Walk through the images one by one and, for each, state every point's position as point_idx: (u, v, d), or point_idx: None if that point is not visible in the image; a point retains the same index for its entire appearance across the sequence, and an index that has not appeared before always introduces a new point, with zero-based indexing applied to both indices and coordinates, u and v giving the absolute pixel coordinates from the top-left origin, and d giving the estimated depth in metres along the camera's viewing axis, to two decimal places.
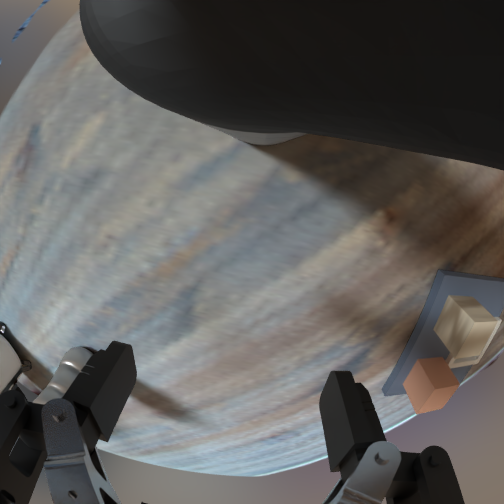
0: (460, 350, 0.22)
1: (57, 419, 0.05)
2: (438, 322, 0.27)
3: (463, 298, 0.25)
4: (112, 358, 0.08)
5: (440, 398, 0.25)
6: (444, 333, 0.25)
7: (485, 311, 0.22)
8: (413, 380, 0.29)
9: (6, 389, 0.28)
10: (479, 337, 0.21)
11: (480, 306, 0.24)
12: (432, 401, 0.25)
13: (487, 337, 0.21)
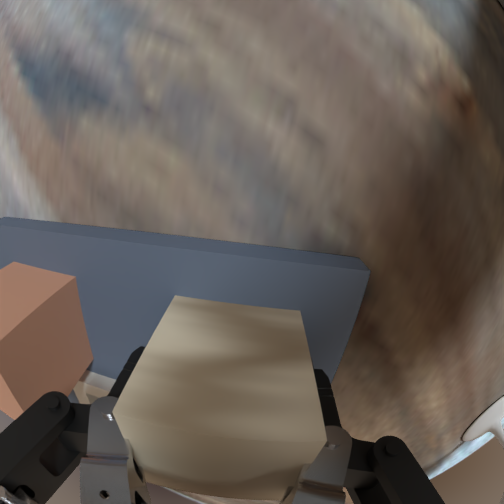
0: (161, 428, 0.05)
1: (109, 418, 0.06)
2: (205, 304, 0.10)
3: None
4: None
5: None
6: (185, 332, 0.08)
7: None
8: (19, 280, 0.09)
9: None
10: (229, 477, 0.06)
11: None
12: None
13: (219, 493, 0.06)
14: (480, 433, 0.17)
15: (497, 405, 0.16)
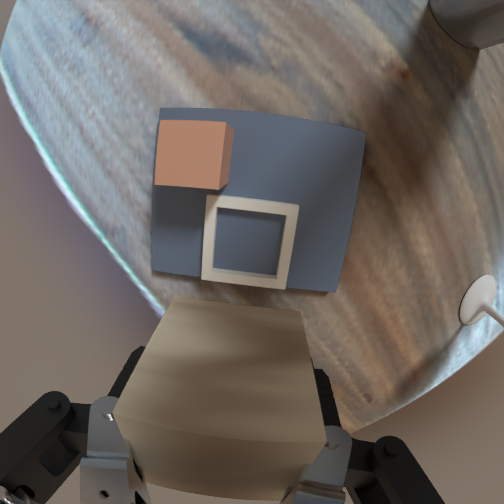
0: (162, 429, 0.05)
1: (109, 418, 0.06)
2: (205, 304, 0.10)
3: None
4: None
5: (190, 155, 0.19)
6: (185, 332, 0.08)
7: None
8: None
9: None
10: (229, 477, 0.06)
11: None
12: (188, 138, 0.18)
13: (219, 493, 0.06)
14: (473, 312, 0.30)
15: (480, 282, 0.29)
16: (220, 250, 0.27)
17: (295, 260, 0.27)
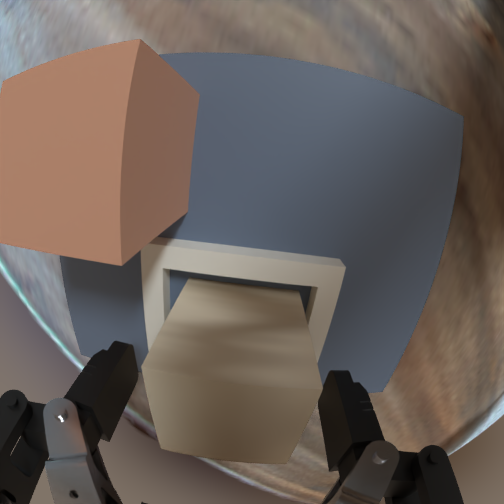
0: (184, 378, 0.07)
1: (59, 419, 0.05)
2: (216, 284, 0.12)
3: None
4: (114, 358, 0.08)
5: (45, 159, 0.05)
6: (200, 305, 0.10)
7: None
8: None
9: None
10: (238, 433, 0.07)
11: None
12: (42, 111, 0.04)
13: (228, 456, 0.08)
14: None
15: None
16: None
17: (324, 357, 0.14)
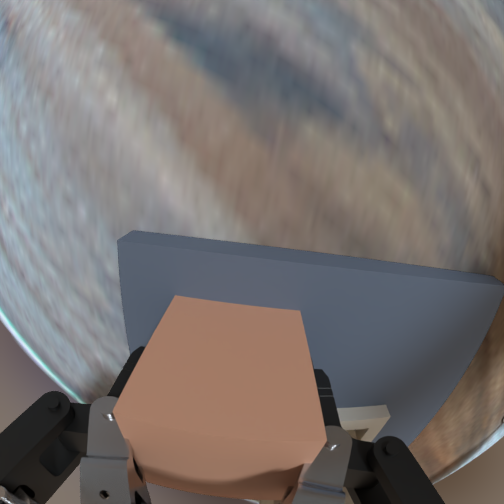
0: None
1: (109, 418, 0.06)
2: None
3: None
4: None
5: (220, 476, 0.06)
6: None
7: None
8: (229, 326, 0.09)
9: None
10: None
11: None
12: (211, 459, 0.05)
13: None
14: None
15: None
16: None
17: None
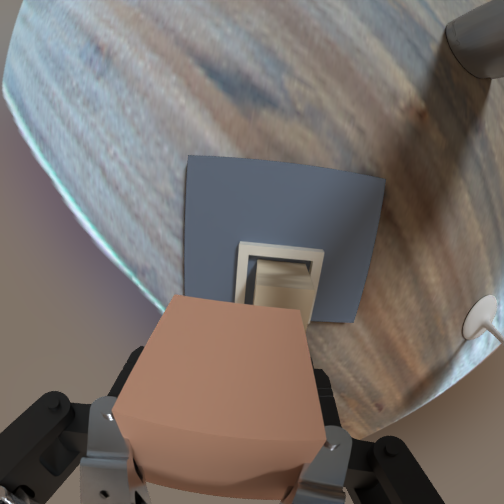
0: (271, 287, 0.23)
1: (109, 418, 0.06)
2: (270, 261, 0.28)
3: None
4: None
5: (220, 475, 0.06)
6: (267, 268, 0.26)
7: None
8: (228, 325, 0.09)
9: None
10: None
11: None
12: (211, 458, 0.05)
13: None
14: (475, 329, 0.31)
15: (482, 302, 0.30)
16: (250, 291, 0.30)
17: (318, 297, 0.30)
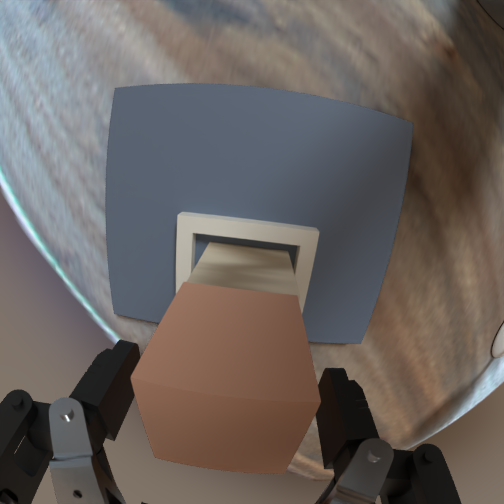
0: None
1: (65, 418, 0.05)
2: (229, 245, 0.17)
3: None
4: (119, 357, 0.08)
5: (225, 444, 0.07)
6: (220, 255, 0.15)
7: None
8: (233, 307, 0.10)
9: None
10: None
11: None
12: (218, 424, 0.07)
13: None
14: None
15: None
16: None
17: (309, 306, 0.19)
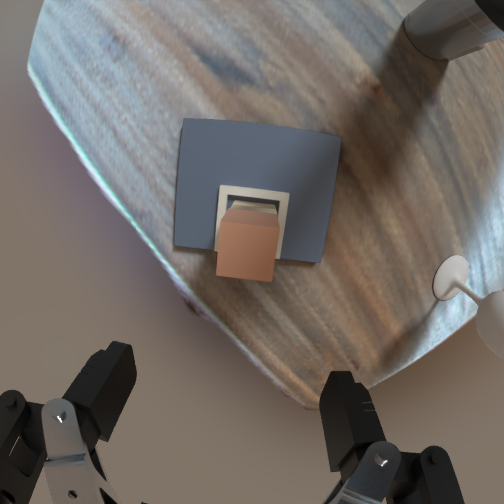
0: None
1: (57, 419, 0.05)
2: (245, 201, 0.34)
3: None
4: (112, 358, 0.08)
5: (248, 254, 0.24)
6: (241, 203, 0.32)
7: None
8: (250, 213, 0.27)
9: None
10: None
11: None
12: (247, 240, 0.23)
13: None
14: (446, 287, 0.38)
15: (450, 260, 0.37)
16: None
17: (287, 236, 0.35)
